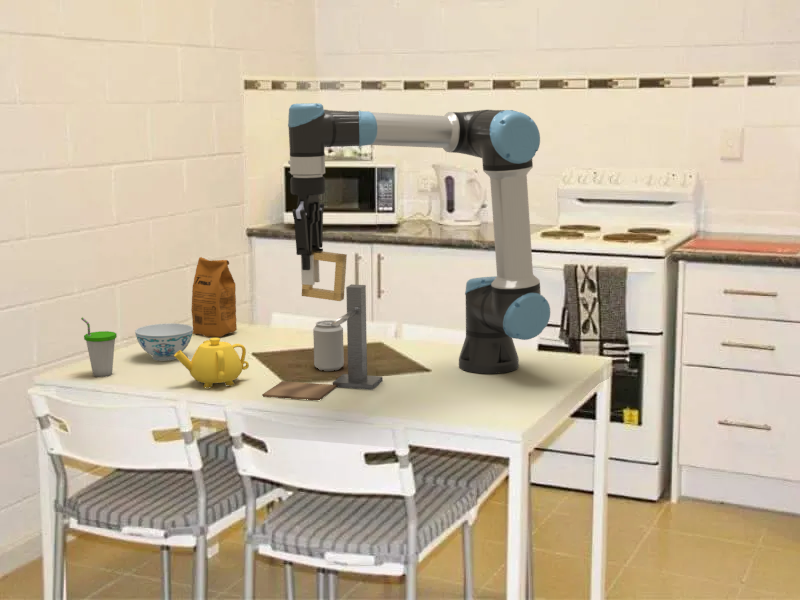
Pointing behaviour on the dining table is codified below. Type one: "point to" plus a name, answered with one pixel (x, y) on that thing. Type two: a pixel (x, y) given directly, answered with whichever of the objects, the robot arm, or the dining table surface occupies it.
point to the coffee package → (213, 299)
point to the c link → (339, 277)
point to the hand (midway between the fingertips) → (310, 282)
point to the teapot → (215, 362)
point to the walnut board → (299, 390)
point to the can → (328, 346)
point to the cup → (100, 351)
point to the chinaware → (164, 339)
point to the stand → (356, 342)
